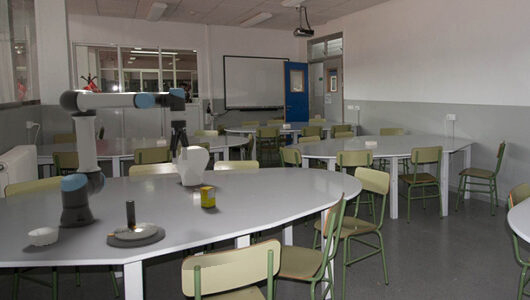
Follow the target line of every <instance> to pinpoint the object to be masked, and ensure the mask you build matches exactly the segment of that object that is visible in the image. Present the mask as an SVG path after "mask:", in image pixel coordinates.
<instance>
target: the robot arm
mask: <svg viewBox="0 0 530 300" xmlns="http://www.w3.org/2000/svg"><path fill="white" fill-rule="evenodd" d="M185 95H186V91H185V89H184V88H182V87H174V88H173V87H170V88H169V89H168V92H147V91H141V92H97V93H96V92H93V91H91V90H87V89H67V90H65V91H64V92H62V93H61V95H60V96H59V101H58V102H59V107H60V108H61V109H62V110H63V111H64V112H66V113H67V114H70V115H71V119H73V120H74V121H75V133H76V135H75V136H76V144H77V145H76V146H77V154H78V163H79V164H78V165H79V166H78V168H77V170H76V173H73V174H68V175H66V176H64V177H62V178H61V180H60V192H61V194H60V195H61V205H62V210H61V216H60V219H59V226H60V227H61V226H62V228H65V227H69V228H68V229H71V228H73V229H74V228H81V227H85V226H88V225H91V224H92V223H94V222H95V215H94V213H93V212H92V209H91V207H90V200H89V199H90V197H92V196H94V195H96V194H97V195H98V194H99V193H101V192H102V191H103V190H104V189H105V186H106V185H107V178H106V176H105V175H104V173H103V172H102V168H101V167H99V165H98V155H97V154H98V153H97V144H96V143H97V141H96V132H95V119H96V118H97V116H98V115H97V111H98V110H134V109H135V110H149V109H167V108H169V116H170V117H169V118H170V128H171V131H170V132H171V133H170V134H171V136H170V144H169V152H171V161H172V163H171V164H172V165H176V164H178V157H179V154H178V153H179V152H178V147H179V142H180V143H181V146H182V147H181V148H182V160H188V152H187V147H189V146H190V144H189V143H190V142H189V140H188V135H187V129H186V128H187V120H186V119H187V116H186V115H187V112H186V96H185ZM172 129H173V130H172Z"/></svg>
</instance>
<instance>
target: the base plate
mask: <svg viewBox="0 0 530 300" xmlns="http://www.w3.org/2000/svg"><path fill="white" fill-rule="evenodd" d="M165 236H166V230H165V229H164V228H162V227H160V226H158V233H157V234H156V235H155V236H153V237H150V238H147V239H144V240H138V241H120V240H117V239H115V237H114V231H113V232H111V233H107V238H106V242H107V244H108V245H110V246H112V247H115V248H124V249H125V248H137V247H143V246H144V247H145V246H148V245H151V244H155V243H157V242H159V241H160V240H162V239H164V238H165Z"/></svg>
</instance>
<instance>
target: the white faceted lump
mask: <svg viewBox="0 0 530 300" xmlns="http://www.w3.org/2000/svg"><path fill="white" fill-rule="evenodd" d="M187 152H188V160H182V147H181V148H180V154H179V155H178V164H174V165H175V166H174V167H175V169H176V171H177V173H178V174H179V176H180V177H181V179H180V180H181V183H182V186H183V187H184V186H185V187H190V186H199V185H202V183H203V176H204V174H205V169H206V167H207V166H208V163H209V161H210V159H211V158H210V154H209V151H208V149H207V148H205V147H201V146H199V145H189V147H187Z"/></svg>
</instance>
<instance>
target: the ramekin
mask: <svg viewBox="0 0 530 300" xmlns="http://www.w3.org/2000/svg"><path fill="white" fill-rule="evenodd" d="M59 233H60V228H59V227H57V226H46V227H45V226H44V227H39V228H36V229H34V230H31V231H29V232H28V234H27V236H28V237H29V240H30V243H31V246H33V245H35V246H34V247H38V246H39V247H44V246H43V245H47V246H49V245H48V244H50V245H53V244H55V243H56V242H57V241H58V239H59V238H58V237H59ZM54 242H55V243H54ZM52 243H53V244H52ZM41 245H42V246H41Z"/></svg>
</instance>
